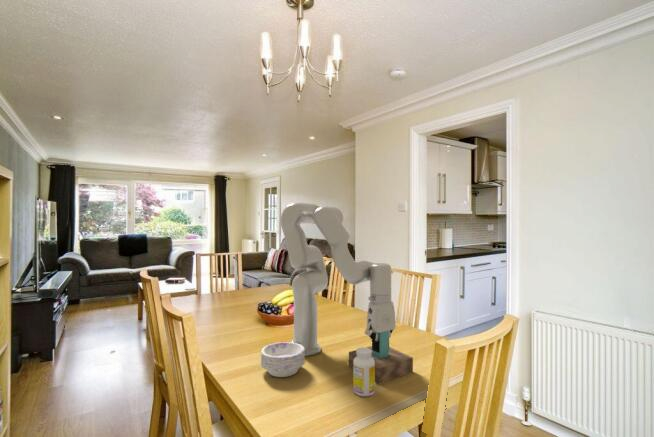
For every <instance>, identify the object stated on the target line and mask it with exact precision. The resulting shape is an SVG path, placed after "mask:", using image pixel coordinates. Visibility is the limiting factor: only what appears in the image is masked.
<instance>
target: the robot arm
mask: <svg viewBox="0 0 654 437" xmlns="http://www.w3.org/2000/svg"><path fill="white" fill-rule="evenodd" d="M343 221H344V215H343V212H342V211H341V210H340V209H339V208H338V207H335V206H328V205H320V204H315V203H305V202H293V203H290V204H288V205H287V206H286V207H285V208H284V209H283V210H282V212H281V215H280V225H281V229H282V233H283V237H284V240H285V244H286V250H287V253H288V258H289V263H290V265H291V267H292V268H293V269H295V270H305V269H306V271H303V272H300V273H298V274H296V275H295V276H294V277H293V279H292V282H291V290H292V291H291V292H292V295H293V338H291V341H290V342H292V343H297V344H300V345H302V346H303V347H304V349H305V357H310V356H315V355H317V354H319V353H320V352H321V350H322V346H321V345H320V344H319V343H318V301H317V299H316V294H317V293H320V292H322V291H324V290H326V288H327V286H328V282H329V276H328V272H327V268H326V264H325V260H324V259H325V258H324V256H323V254H322V251H321V250H320V248H319V247H317V246H316V245H312V244H308V241H307V237H306V234H305V232H304V230H303V228H302V226H301V224H312V225H313V224H315V225H316V227H317V229H318V230H319V231H320V233H321V235H322V236H323V237H324V239H325V240H326V242H327V243H328V245H329V247H330V249H331V255H332V256H331V257H332V260H333V263H334V265H335V268H336V269H337V271H338V272H339V273H340V275H341V277H342V278H343V279H344V280H345V281H346V282H347V283H348V284H350V285H353V286H354V285H355V286H356V285H359V284H362V283H365V282H369V296H368V301H369V302H368V307H367V313H366V314H367V315H366V327H365V330H364V334H365V335H367V336H368V337H369V338H370V340H371V346H372V350H373V351H376V352H379V341H378V337H379V333H382V332H386V331H389V339H390V338H391V335H392V333H393V331H394V330H395V329H396V327H397V326H396V312H395V305H394V302H393V301H392V266H391V265H390V264H388V263H385V262H384V263H383V262H372V261H367V260H361V261H357V262H356V260H355V259H354V257H353V256H352V254H351V253H350V249H349V248H348V247H349V246H348V243H349V239H350V234H349V232H348V231H347V229H346V228H345V227H344V225H343V224H342V223H343ZM374 333H375V335H374Z"/></svg>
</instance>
